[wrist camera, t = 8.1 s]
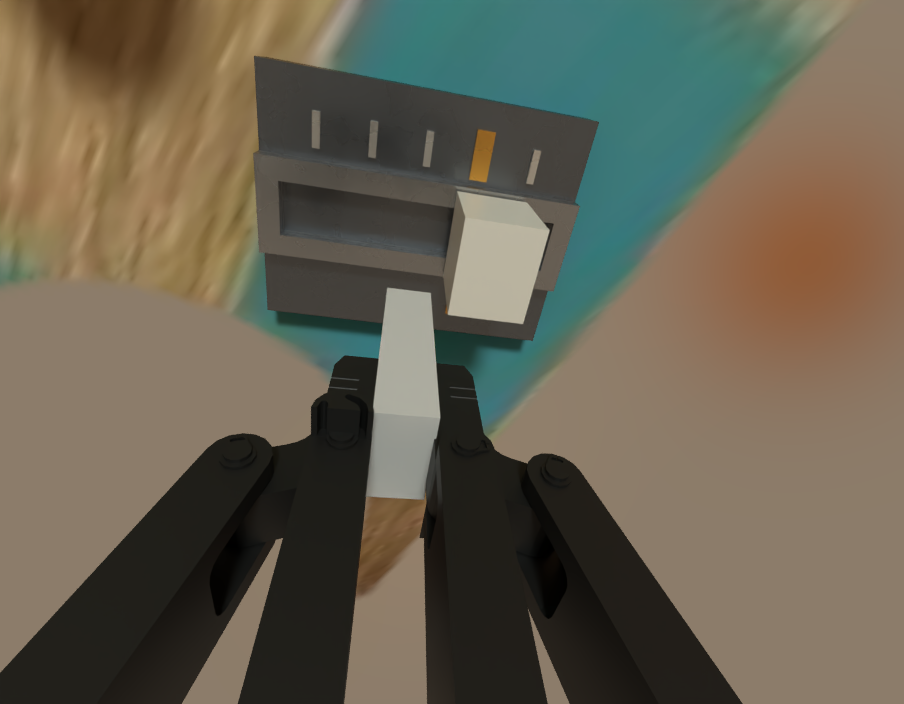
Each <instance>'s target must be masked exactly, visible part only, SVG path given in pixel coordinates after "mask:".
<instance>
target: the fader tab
mask: <svg viewBox="0 0 904 704" xmlns="http://www.w3.org/2000/svg"><path fill="white" fill-rule="evenodd" d="M549 231H550V230H549V229H548V228H547V227H546V225H545V224H544V223H543V222H542V220H541V219H540V218H539V217H538V215H537V214H536V213H535V212H534V210H533V209H532V208H531V207H530V206H529V204H528V203H527V202H521V201H515V200H508V199H502V198H496V197H490V196H484V195H477V194H471V193H465V192H459V191H457V196H456V202H455V208H454V214H453V220H452V226H451V232H450V238H449V244H448V250H447V256H446V262H445V268H444V274H443V278H444V287H445V296H446V304H447V313H448V315H452V316H461V317H469V318H477V319H485V320H494V321H502V322H510V323H518V324H523V322H524V319H525V315H526V312H527V308H528V305H529V301H530V298H531V294H532V291H533V287H534V284H535V280H536V277H537V273H538V270H539V266H540V263H541V259H542V256H543V252H544V249H545V245H546V242H547V238H548V235H549Z"/></svg>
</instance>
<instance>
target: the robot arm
mask: <svg viewBox="0 0 904 704" xmlns="http://www.w3.org/2000/svg"><path fill="white" fill-rule="evenodd" d="M425 492H426V501H427V504H426V509H425V514H424V519H423V524H422V529H421V533H420V538H424V563H425V615H426V666H427V704H548V703H547V698H546V694H545V689H544V684H543V679H542V674H541V669H540V665H539V660H538V655H537V651H536V646H535V641H534V636H533V631H532V627H531V622H530V617H529V612H530V614H531V616H532V618H533V621H534V623H535V625H536V628H537V630H538V632H539V634H540V637H541V639H542V641H543V643H544V646H545V648H546V650H547V653H548V655H549V657H550V660H551V662H552V664H553V666H554V669H555V671H556V673H557V676H558V678H559V680H560V682H561V685H562V687H563V689H564V692H565V694H566V696H567V698H568V701H569V703H570V704H742V702H741V701H740V699H739V698H738V696H737V695H736V694H735V692H734V691H733V689H732V688H731V687H730V685H729V684H728V682H727V681H726V679H725V678H724V676H723V675H722V674H721V672H720V671H719V669H718V668H717V666H716V665H715V664H714V662H713V661H712V659H711V658H710V656H709V655H708V654H707V652H706V651H705V649H704V648H703V646H702V645H701V644H700V642H699V641H698V639H697V638H696V636H695V635H694V634H693V632H692V631H691V629H690V628H689V626H688V625H687V623H686V622H685V621H684V619H683V618H682V616H681V615H680V613H679V612H678V611H677V609H676V608H675V606H674V605H673V603H672V602H671V601H670V599H669V598H668V596H667V595H666V593H665V592H664V591H663V589H662V588H661V586H660V585H659V583H658V582H657V580H656V579H655V578H654V576H653V575H652V573H651V572H650V570H649V569H648V568H647V566H646V565H645V563H644V562H643V560H642V559H641V558H640V556H639V555H638V553H637V552H636V550H635V549H634V548H633V546H632V545H631V543H630V542H629V540H628V539H627V537H626V536H625V535H624V533H623V532H622V530H621V529H620V527H619V526H618V525H617V523H616V522H615V520H614V519H613V518H612V516H611V515H610V513H609V512H608V511H607V509H606V507H605V506H604V505H603V503H602V502H601V501H600V499H599V497H598V496H597V495H596V493H595V492H594V490H593V489H592V487H591V486H590V485H589V483H588V482H587V480H586V479H585V478H584V476H583V475H582V473H581V472H580V470H579V469H578V468H577V467H576V466H575V465H574V464H573V463H571V462H570V461H568V460H567V459H565V458H563V457H560V456H557V455H554V454H539V455H536V456H534V457H532V459H531V460H530V461H529V462H528V464H527V463H524V462H521V461H517V460H514V459H511V458H509V457H506V456H504V455H502V454H500V453H499V452H497V451H496V450H495V449H494V447H493V444H492V442H491V440H489V439H488V438H487V437H486V436H485V435H484V433H483V427H482V422H481V417H480V412H479V407H478V401H477V396H476V391H475V386H474V380H473V376H472V375H471V374H470V373H469V371H468V370H467V369H466V368H465V367H464V366H459V365H448V364H438V363H436V355H435V342H434V329H433V316H432V303H431V293H427V292H419V291H411V290H403V289H395V288H387V294H386V302H385V311H384V319H383V328H382V336H381V345H380V353H379V359H376V358H366V357H356V356H344V357H342V358H341V359H340V360H339V361H338V362H337V363H336V364H335V365H334V369H333V373H332V378H331V381H330V384H329V388H328V392H327V393H326V394H323V395H322V396H320V397H319V398H317V399H316V400H315V402H314V403H313V405H312V406H311V435H309V436H308V437H306V438H305V439H303V440H300V441H298V442H295V443H291V444H287V445H281V446H275V447H272V446H271V445H270V444H269V442H268V441H267V440H266V439H264V438H262V437H260V436H257V435H254V434H243V433H242V434H236V435H230V436H227V437H225V438H222V439H220V440H218V441H216V442H215V443H213V444H212V445H211V446H210V447H208V448H207V449H206V450H205V451H204V453H203V454H202V455H201V456H200V457H199V458H198V459H197V460H196V461H195V462H194V463H193V464H192V466H190V468H189V469H188V470H187V471H186V472H185V473H184V474H183V475H182V476H181V477H180V478H179V480H178V481H177V482H176V483H175V484H174V485H173V486H172V487H171V488H170V489H169V491H167V493H166V494H165V495H164V496H163V497H162V498H161V499H160V500H159V501H158V502H157V503H156V505H155V506H154V507H153V508H152V509H151V510H150V511H149V512H148V513H147V514H146V515H145V517H144V518H143V519H142V520H141V521H140V522H139V523H138V524H137V525H136V526H135V527H134V528H133V529H132V531H131V532H130V533H129V534H128V535H127V536H126V537H125V538H124V539H123V540H122V541H121V543H120V544H119V545H118V546H117V547H116V548H115V549H114V550H113V551H112V552H111V553H110V554H109V555H108V557H107V558H106V559H105V560H104V561H103V562H102V563H101V564H100V565H99V566H98V567H97V568H96V570H95V571H94V572H93V573H92V574H91V575H90V576H89V577H88V578H87V579H86V580H85V581H84V583H83V584H82V585H81V586H80V587H79V588H78V589H77V590H76V591H75V592H74V593H73V595H72V596H71V597H70V598H69V599H68V600H67V601H66V602H65V603H64V604H63V605H62V607H61V608H60V609H59V610H58V611H57V612H56V613H55V614H54V615H53V616H52V617H51V618H50V620H49V621H48V622H47V623H46V624H45V625H44V626H43V627H42V628H41V629H40V630H39V631H38V632H37V634H36V635H35V636H34V637H33V638H32V639H31V640H30V641H29V642H28V643H27V645H26V646H25V647H24V648H23V649H22V650H21V651H20V652H19V653H18V654H17V655H16V656H15V658H14V659H13V660H12V661H11V662H10V663H9V664H8V665H7V666H6V667H5V668H4V669H3V671H2V672H1V673H0V704H182V702H183V700H184V699H185V697H186V695H187V693H188V692H189V690H190V688H191V686H192V685H193V683H194V681H195V680H196V678H197V676H198V674H199V673H200V671H201V669H202V667H203V666H204V664H205V662H206V661H207V659H208V657H209V656H210V654H211V652H212V650H213V649H214V647H215V645H216V643H217V642H218V640H219V638H220V636H221V635H222V633H223V631H224V630H225V628H226V626H227V624H228V623H229V621H230V619H231V617H232V616H233V614H234V612H235V610H236V609H237V607H238V605H239V603H240V602H241V600H242V598H243V597H244V595H245V593H246V592H247V590H248V588H249V586H250V585H251V583H252V581H253V580H254V578H255V576H256V574H257V573H258V571H259V569H260V567H261V566H262V564H263V562H264V561H265V559H266V557H267V555H268V554H269V552H270V550H271V548H272V547H273V545H274V543H275V540H276V539H280V538H283V540H282V544H281V548H280V551H279V555H278V559H277V562H276V566H275V570H274V573H273V577H272V581H271V584H270V588H269V592H268V595H267V599H266V603H265V606H264V610H263V613H262V617H261V621H260V624H259V628H258V632H257V635H256V639H255V643H254V646H253V650H252V654H251V657H250V661H249V665H248V668H247V672H246V676H245V680H244V683H243V687H242V690H241V694H240V698H239V701H238V704H344V698H345V689H346V680H347V671H348V660H349V652H350V642H351V633H352V623H353V614H354V605H355V596H356V586H357V577H358V568H359V558H360V549H361V539H362V530H363V521H364V511H365V501H366V497H384V498H403V499H422V500H424V497H425ZM528 609H529V612H528Z"/></svg>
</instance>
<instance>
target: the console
mask: <svg viewBox="0 0 904 704" xmlns="http://www.w3.org/2000/svg"><path fill="white" fill-rule="evenodd" d="M254 62H255V81H256V100H257V118H258V137H259V151H257V152H255V153H253V155H254V172H255V188H256V205H257V222H258V238H259V252H262V253H265V268H266V286H267V305H268V310H274V311H282V312H291V313H299V314H308V315H316V316H325V317H333V318H342V319H351V320H359V321H368V322H376V323H383V319H384V311H385V302H386V294H387V288H395V289H403V290H411V291H419V292H427V293H431V303H432V316H433V329H436V330H445V331H453V332H462V333H471V334H479V335H488V336H496V337H505V338H513V339H522V340H531V341H533V338H534V334H535V331H536V328H537V325H538V321H539V318H540V315H541V311H542V308H543V305H544V301H545V298H546V295H547V292H548V291H554V288H555V284H556V281H557V278H558V275H559V272H560V268H561V265H562V262H563V259H564V255H565V252H566V249H567V246H568V243H569V239H570V236H571V233H572V230H573V226H574V223H575V220H576V217H577V214H578V210H579V207H580V206H579V205H578V204H577V203H575V199H576V196H577V193H578V189H579V186H580V183H581V180H582V176H583V173H584V170H585V166H586V163H587V160H588V157H589V153H590V150H591V147H592V143H593V140H594V137H595V134H596V130H597V127H598V124H599V122H597V121H593V120H590V119H586V118H581V117H576V116H570V115H565V114H560V113H555V112H550V111H544V110H539V109H534V108H529V107H524V106H518V105H513V104H508V103H503V102H498V101H492V100H487V99H482V98H477V97H472V96H466V95H461V94H456V93H451V92H446V91H440V90H435V89H430V88H425V87H420V86H414V85H409V84H404V83H399V82H393V81H388V80H383V79H378V78H373V77H367V76H362V75H357V74H352V73H347V72H341V71H336V70H331V69H326V68H321V67H315V66H310V65H305V64H300V63H295V62H289V61H284V60H279V59H274V58H269V57H260V56H254ZM457 191H459V192H465V193H471V194H477V195H484V196H490V197H496V198H502V199H508V200H515V201H521V202H527V203H528V204H529V206H530V207H531V208H532V209H533V210H534V212H535V213H536V214H537V215H538V217H539V218H540V219H541V220H542V222H543V223H544V224H545V225H546V227H547V228H548V229H549V230H550V231H549V235H548V238H547V242H546V245H545V249H544V252H543V256H542V259H541V263H540V266H539V270H538V273H537V277H536V280H535V284H534V287H533V291H532V294H531V298H530V301H529V305H528V308H527V312H526V315H525V319H524V322H523V324H518V323H510V322H502V321H494V320H485V319H477V318H469V317H461V316H452V315H448V313H447V304H446V296H445V287H444V278H443V274H444V268H445V262H446V256H447V250H448V244H449V238H450V232H451V226H452V220H453V214H454V208H455V202H456V196H457Z"/></svg>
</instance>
